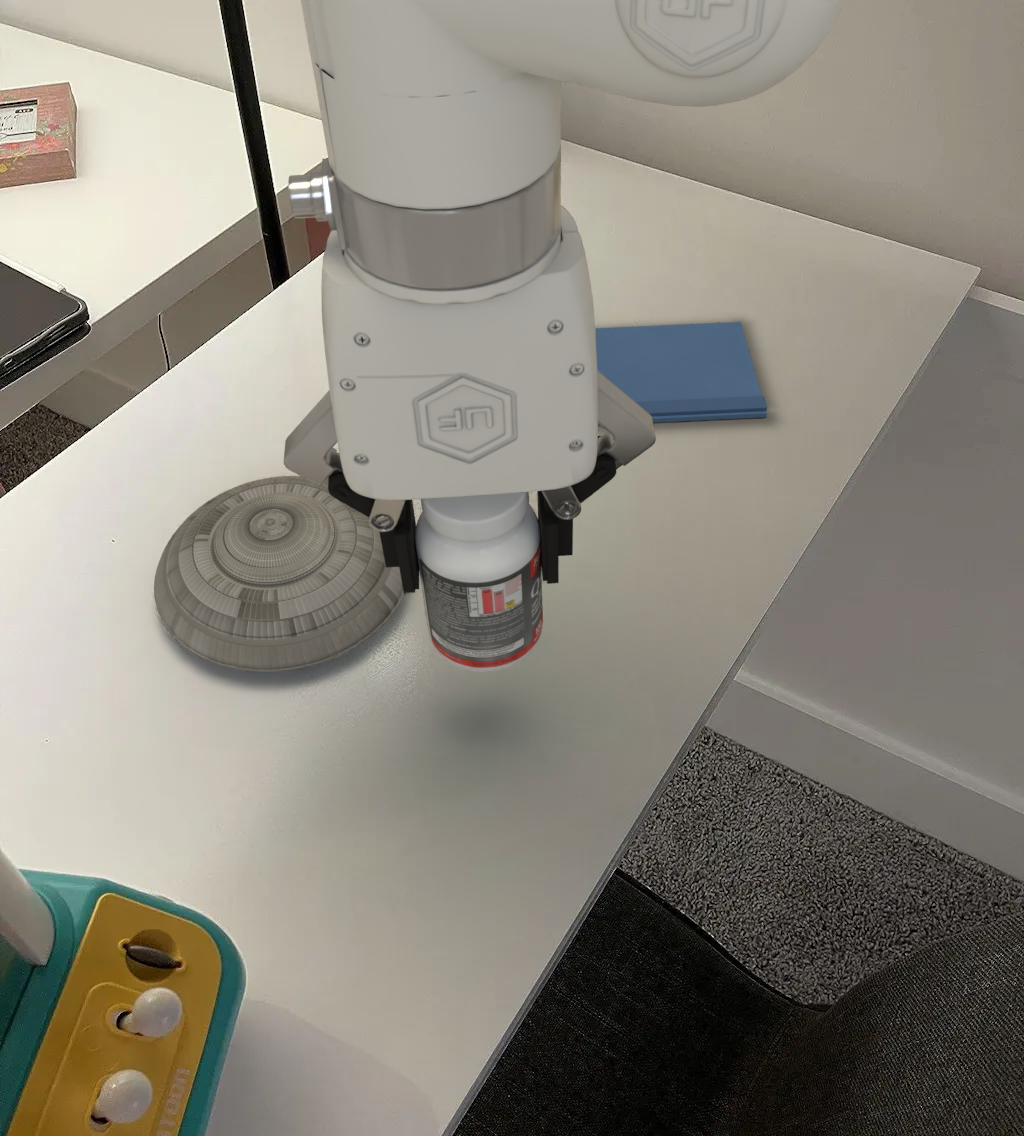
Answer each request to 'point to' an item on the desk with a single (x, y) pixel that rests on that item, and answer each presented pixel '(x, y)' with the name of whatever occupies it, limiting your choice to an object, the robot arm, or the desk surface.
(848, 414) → the desk surface
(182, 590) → the flying saucer
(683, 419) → the cloth
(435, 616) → the pill bottle
